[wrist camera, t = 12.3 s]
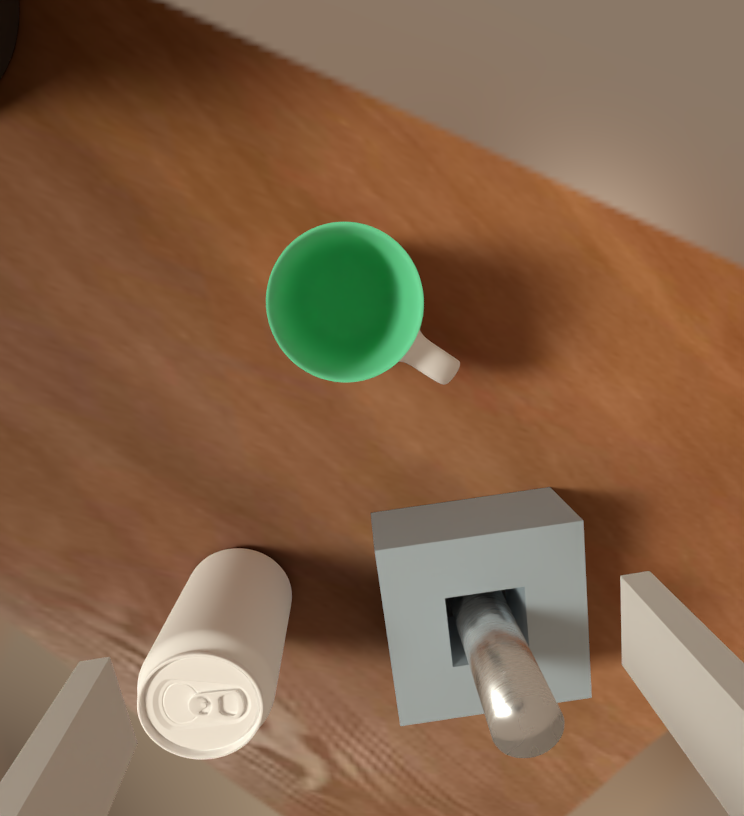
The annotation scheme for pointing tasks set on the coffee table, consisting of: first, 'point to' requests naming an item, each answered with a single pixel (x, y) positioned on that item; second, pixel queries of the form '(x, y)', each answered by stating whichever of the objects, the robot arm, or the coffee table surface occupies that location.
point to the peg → (507, 676)
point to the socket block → (477, 573)
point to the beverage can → (217, 657)
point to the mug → (351, 306)
